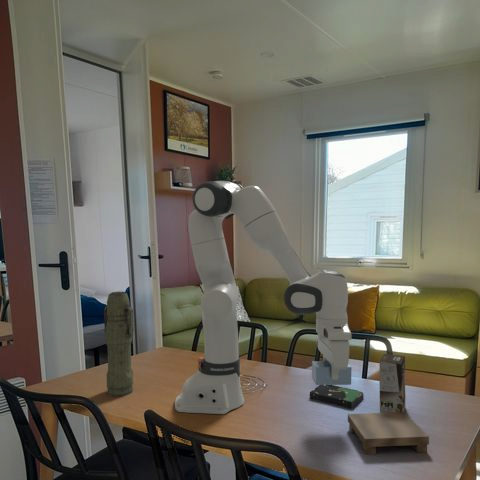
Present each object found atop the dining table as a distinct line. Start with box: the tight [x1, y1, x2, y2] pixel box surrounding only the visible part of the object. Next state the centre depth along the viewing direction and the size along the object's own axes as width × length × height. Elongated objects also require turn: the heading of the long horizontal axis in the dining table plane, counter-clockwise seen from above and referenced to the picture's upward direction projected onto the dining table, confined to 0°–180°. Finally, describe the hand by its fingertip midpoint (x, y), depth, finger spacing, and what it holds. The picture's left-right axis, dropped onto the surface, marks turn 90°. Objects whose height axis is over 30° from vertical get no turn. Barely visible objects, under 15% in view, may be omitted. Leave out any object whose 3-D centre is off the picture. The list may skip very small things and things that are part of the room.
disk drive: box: [309, 385, 365, 410], centre depth 137 cm, size 10×3×15 cm
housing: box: [311, 360, 352, 386], centre depth 119 cm, size 10×6×5 cm, turn 93°
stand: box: [347, 411, 430, 455], centre depth 109 cm, size 16×14×4 cm
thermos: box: [103, 291, 134, 398], centre depth 145 cm, size 9×12×35 cm
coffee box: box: [379, 353, 406, 413], centre depth 126 cm, size 9×6×16 cm
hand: (331, 374), depth 119 cm, fingers closed on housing, 5 cm apart
